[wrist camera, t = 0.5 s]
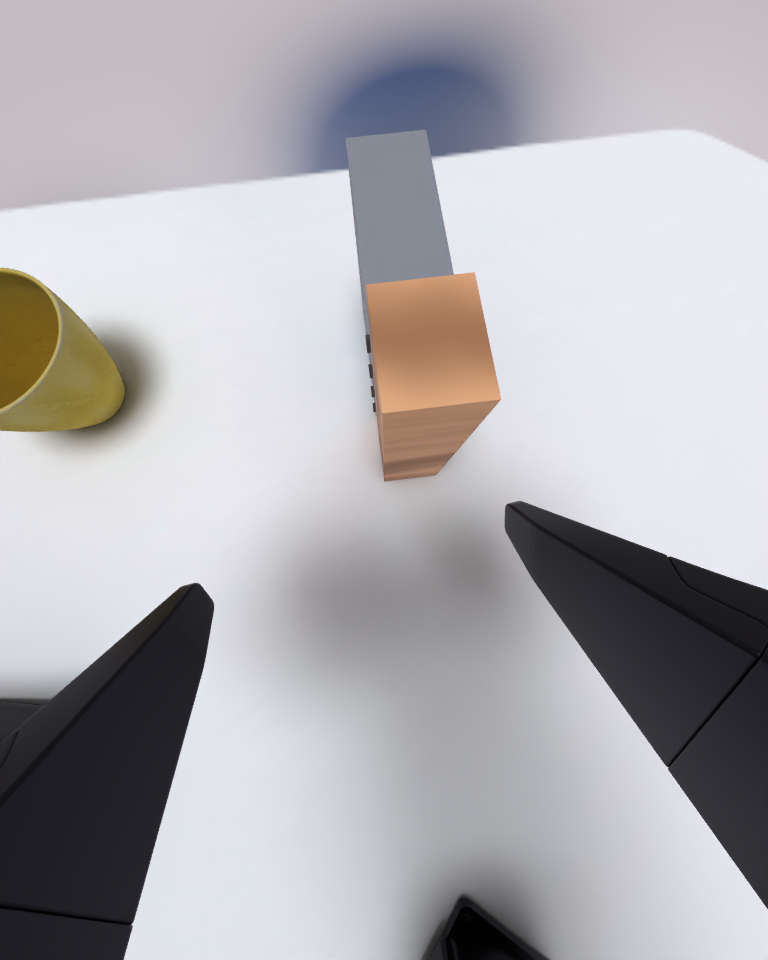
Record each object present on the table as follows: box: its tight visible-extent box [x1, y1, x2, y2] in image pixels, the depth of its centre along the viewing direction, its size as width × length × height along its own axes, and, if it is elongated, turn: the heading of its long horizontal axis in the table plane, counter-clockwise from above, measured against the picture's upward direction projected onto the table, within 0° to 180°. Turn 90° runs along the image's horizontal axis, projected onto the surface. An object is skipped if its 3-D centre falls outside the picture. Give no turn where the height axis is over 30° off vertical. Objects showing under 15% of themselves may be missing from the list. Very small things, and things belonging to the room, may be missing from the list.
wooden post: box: [366, 272, 501, 481], centre depth 16 cm, size 5×4×13 cm
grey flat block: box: [346, 130, 454, 416], centre depth 19 cm, size 10×4×11 cm, turn 7°
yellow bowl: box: [0, 268, 125, 432], centre depth 20 cm, size 10×10×7 cm
